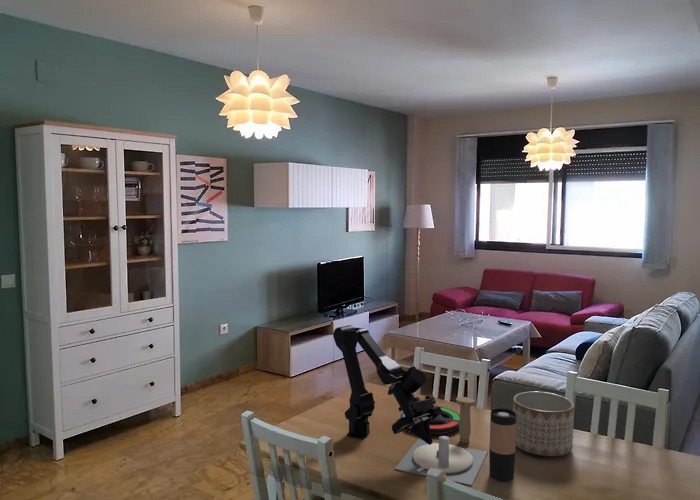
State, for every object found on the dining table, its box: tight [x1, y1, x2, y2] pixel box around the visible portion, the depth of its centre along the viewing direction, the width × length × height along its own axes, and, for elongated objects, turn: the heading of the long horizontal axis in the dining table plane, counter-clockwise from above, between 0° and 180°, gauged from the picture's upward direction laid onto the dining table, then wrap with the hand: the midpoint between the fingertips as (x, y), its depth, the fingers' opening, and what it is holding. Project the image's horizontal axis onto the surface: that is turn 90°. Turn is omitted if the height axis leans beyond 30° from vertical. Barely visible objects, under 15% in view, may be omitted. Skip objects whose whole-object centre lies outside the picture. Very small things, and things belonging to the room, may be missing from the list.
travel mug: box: [488, 407, 517, 483], centre depth 170 cm, size 8×8×20 cm
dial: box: [413, 435, 473, 473], centre depth 181 cm, size 19×19×10 cm
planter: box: [512, 391, 575, 457], centre depth 190 cm, size 19×19×16 cm
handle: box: [455, 396, 476, 444], centre depth 195 cm, size 5×6×15 cm
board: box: [394, 438, 488, 487], centre depth 181 cm, size 24×24×1 cm
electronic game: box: [400, 406, 460, 436], centre depth 211 cm, size 23×23×5 cm
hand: (431, 444), depth 176 cm, fingers closed
